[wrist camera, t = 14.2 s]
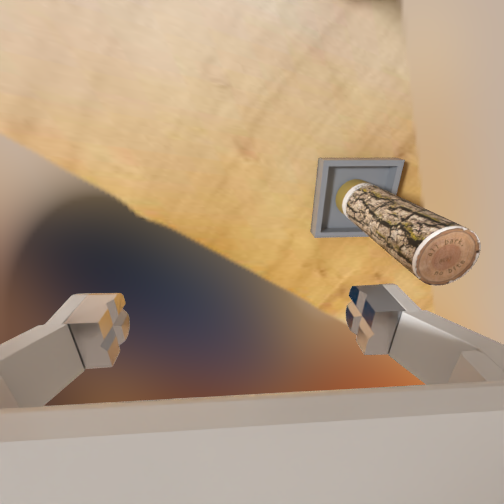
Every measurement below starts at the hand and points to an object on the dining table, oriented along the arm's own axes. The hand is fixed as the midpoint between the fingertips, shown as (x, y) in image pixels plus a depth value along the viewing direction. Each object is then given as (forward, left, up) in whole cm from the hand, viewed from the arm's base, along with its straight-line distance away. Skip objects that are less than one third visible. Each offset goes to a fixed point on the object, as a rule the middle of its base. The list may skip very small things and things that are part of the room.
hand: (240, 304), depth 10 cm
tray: (+7, +22, -41) cm, 47 cm away
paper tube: (+7, +22, -41) cm, 47 cm away
